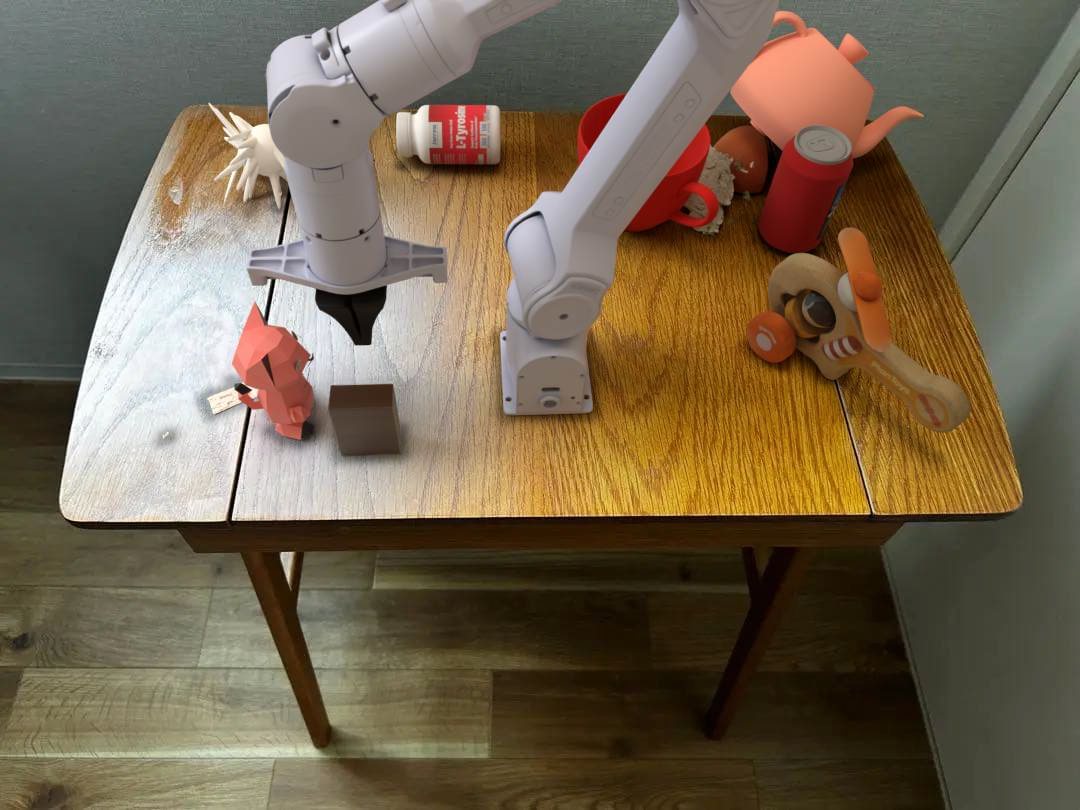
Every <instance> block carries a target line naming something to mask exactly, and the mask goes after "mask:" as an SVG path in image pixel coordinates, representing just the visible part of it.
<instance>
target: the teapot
mask: <svg viewBox="0 0 1080 810" xmlns="http://www.w3.org/2000/svg"><path fill="white" fill-rule="evenodd" d="M781 22H788V23H790V24H791V25H792V26H793V27H794V28H795V30H796V31H794V32H791V33H788V34H784V35H782V36H778V37H776V38H774V39H771V40H769V41H766V42H765V44H764V46H763V47H762V49H761V50H760V51H759V53H758V54H757V55H756V57H755V58H754V59H753V61H752V62H751V63H750V65H749V66H748V67H747V69H746V70H745V71H744V73H743V74H742V75H741V76H740V78H739V79H738V80H737V82H736V83H735V84H734V86H733V87H732V88H731V90H730V91H729V92H730V95H731V97H732V99H734V101H735V103H736V104H737V105H738V106H739V107H740V109H741V110H742V111H743V112H744V113H745V114H746V115H747V117H748V118H749V119H750V121H749V123H750V124H751V126H753V127H755V128H756V129H757V130H758V131H759V132H760V133H761V134H762V136H763V137H766V136H767V137H768V138H769V139H770V140H771V142H773V143H774V144H775V145H776V147H778V149H780V150H781V151H782V152H783V149H784V147H785V145H786V144H787V142H788V141H789V140H791V139H792V138H793V137H794V136H796V134H797V133H798V131H800V130H801V129H802V128H804V127H807V126H811V125H823V126H828V127H831V128H834V129H836V130H838V131H840V132H842V133H843V134H844V135H846V137H847V138H848V139H849V140H850V142H851V145H852V151H851V153H852V157H853V160H854V159H857V158H860V157H862V156H864V155H866V154H868V153H869V152H870V151H872V150H873V149H874V148H875V147H876V146H877V145H878V144H880V142H881V141H882V140H883V139H884V138H885V137H886V136H887V135H888V134H889V133H890V132H891V131H892V130H893V129H894V128H896V127H897V126H898V125H900V124H901V123H903V122H905V121H908V120H911V119H917V118H925V115H923V113H921V112H919V111H917V110H915V109H913V108H910V107H908V106H905V105H904V106H903V105H901V106H897V107H894V108H892V109H890V110H888V111H886V112H885V113H884V114H882V115H881V116H879V117H878V118H877V119H875V120H873V121H872V122H870V123H869V124H867V125H866V122H867V119H868V116H869V112H870V110H871V106H872V103H873V99H874V96H875V95H874V94H875V90H874V89H875V87H874V86H873V85H872V84H871V83H870V82H869V81H868V79H866V77H864V75H862V73H861V72H859V70H858V69H857V68H855V66H854V64H856V63H858V62H859V61H861V60H863V59H865V58H866V57H868V56H869V51H868V50H867V49H866V47H865V46H864V45H863V44H862V43H861V42H860V41H859V40H858V39H857V38H856V37H854V36H853V35H852V34H851V33H846V34H845V35H844V37H843V39H842V41H841V43H840V44H839V47H838V49H837V48H836V47H835V46H834V45H833V43H831V42H830V41H829V40H828V39H827V38H826V37H825V36H824V35H823V34H822V33H821V32H819V30H818V29H817V28H815V27H807V25H806V23H805V21H804V20H803V18H802V17H800V16H799V15H798V14H796V13H795V12H792V11H789V10H788V11H787V10H780V11H779V10H778V11H776V14H775V18H774V21H773V25H772V29H773V28H774V27H775V26H776V25H777V24H779V23H781Z"/></svg>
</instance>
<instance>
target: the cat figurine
mask: <svg viewBox="0 0 1080 810" xmlns="http://www.w3.org/2000/svg"><path fill="white" fill-rule="evenodd" d="M290 332H291V333H290ZM300 335H301V336H300V337H302V334H300ZM303 344H306V342H305V341H303ZM304 346H305V347H304ZM304 346H303V345H302V344H301V343H300V342H299V336H298V334H297V333H296V332H295V331H293V330H291V331H289V330H288V329H287V328H286V327H285V326H278V325H270V324H268V322H267V320H266V318H265V317H264V315H263V313H262V311H261V309H260V307H259V306H258V304H257V302H256V301H254V302H253V304H252V307H251V310H250V312H249V314H248V317H247V319H246V321H245V324H244V326H243V329H242V331H241V334H240V337H239V340H238V343H237V346H236V349H235V352H234V355H233V357H232V361H231V365H232V367H233V368H234V370H235V371H236V374H237V375H238V376H239V378H240V379H241V381H242V382H238V383H237V382H236V383H233V388H234V389H235V390H236V391H237V392H238V399H239V400H240V401H242V402H241V403H243V404H244V405H246V406H247V407H249V408H250V409H251V410H253V411H254V410H255V411H256V410H264V412H265V414H266V415H267V417H268V419H269V420H270V422H271V423H272V424H276V425H275V428H274V431H275V432H277V433H279V434H280V435H281V436H283V437H286V438H291V439H295V440H299V441H302V440H304V439H306V438H308V437H311V436H312V435H314V432H315V428H316V426H315V425H314V424H313V423H311V422H310V421H309V420H307V418H308V417H310V416H311V412H312V409H313V406H314V402H315V396H314V390H313V389H314V388H313V385H312V384H311V381H309V377H310V374H311V373H312V371H311V367H310V365H311V363H313V361H314V360H315V355H314V352H312V353H310V352H309V351H308V348H307V346H306V345H304ZM306 366H307V367H306ZM305 368H306V369H308V373H307V370H305ZM304 370H305V373H307V377H306V376H305V374H304V373H303V372H304ZM243 382H244V384H245V385H246V386H245V385H244V384H242V383H243ZM247 386H249V387H252V388H255V389H258V394H257V397H256V398H257V401H254V398H253V399H252V398H251V397H250V396H249V395H248V394H249V393H250V392H251V391H252V389H250V388H249V387H247Z"/></svg>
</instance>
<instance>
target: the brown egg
mask: <svg viewBox="0 0 1080 810" xmlns="http://www.w3.org/2000/svg"><path fill="white" fill-rule="evenodd" d="M764 137H765V136H763V135H762V134H761V133H760V132H759V131H758V130H757V129H756V128H755V127H754V126H753V125H741V126H738V127H735V128H733V129H731V130H729V131H728V132H726V133H725V134H724V135H723V136H722V137H721V138H720V139H718V140H717V141H716V142H715V144H714V145H713V147H714V148H715V149H716V151H720V152H722V154H726V155H725V156H727V154H728V156H727V157H728V158H729V159H731V157H732V158H733V161H732V162H731V164H730V168H729V169H730V172H731V173H732V174H733V175H734V176H735V178H734V179H733V180H732V181H733V185H734V186H733V187H734V192H736V193H740V194H744V193H745V192H746V191H749V194H757V193H761V191H762V190H763V188H764V185H765V182H766V178H767V174H768V169H769V168H768V167H769V166H768V165H769V158H768V148H767V143H766V140H765V138H764ZM713 150H714V149H713ZM729 156H730V157H729ZM739 157H740V158H739ZM742 157H743V159H742ZM738 158H739V159H738ZM735 159H737V160H735ZM736 161H737V162H738V161H740V162H741V163H742V164H743V165H744V164H745V165H744V169H745V171H748V173H745V172H743V171H741V170H740V169H741V168H740V166H741V165H740V166H739V169H738V170H735V166H734V165H735V163H736ZM707 162H708V161H707ZM752 162H754V164H753V165H754V166H753V168H751V167H750V165H751V163H752ZM755 169H756V170H755ZM719 178H721V173H720V176H719ZM719 178H718V180H719ZM743 192H744V193H743Z"/></svg>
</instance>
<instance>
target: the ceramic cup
mask: <svg viewBox="0 0 1080 810" xmlns="http://www.w3.org/2000/svg"><path fill="white" fill-rule="evenodd" d="M626 95H627V93H620V94H618V95H612V96H609V97H606V98H604V99H601V100H599V101H598V102H596V103H594V104H593V105H592V106H591V107H590V108H588V109H587V111H585V113H584V114H583V116H582V118H581V119H580V123H579V125H578V132H577V162H578V163H577V165H578V167H579V166H580V164H581V163H582V161H583V160H584V158H585V157H586V155H587V154H588V152H589V151H590V149H591V148H592V146H593V145H594V143H595V142H596V140H597V139H598V137H599V136H600V134H601V133H602V131H603V130H604V128H605V126H606V125H607V123H608V122H609V120H610V119H611V117H612V116H613V114H614V113H615V111H616V110H617V108H618V107H619V105H620V104H621V102H622V101H623V99H624V98H625V96H626ZM710 144H711V136H710V131H709V129H708V126H707V124H706V123H705V124H704V125H703V127H702V128H701V129H700V131H699V132H698V133H697V135H696V136H695V137H694V139H693V140H692V141H691V142H690V144H689V145H688V146H687V148H686V149H685V150H684V152H683V153H682V154H681V156H680V157H679V158H678V160H677V161H676V162H675V164H674V165H673V166H672V168H671V169H670V170H669V172H668V173H667V174H666V176H665V177H664V178H663V179H662V181H661V182H660V183H659V185H658V186H657V187H656V189H655V190H654V191H653V193H652V194H651V195H650V197H649V198H648V199H647V201H646V202H645V203H644V205H643V206H642V207H641V209H640V210H639V211H638V212H637V214H636V215H635V216H634V218H633V219H632V220H631V222H630V223H629V224H628V226H627V227H626V228H625V230H624V231H625V232H636V233H637V232H643V231H648V230H650V229H652V228H654V227H656V226H658V225H661V224H663V223H664V222H666V221H668V220H671V221H673V222H675V223H678V224H680V225H683V226H686V227H689V228H693V227H703V226H705V225H707V224H709V223H710V222H712V221H713V220H714V219H715V218H716V216H717V214H718V211H719V202H718V199H717V197H716V195H715V193H714V192H713V191H712V190H711V189H710V188H708V187H707V186H705V185H703V184H701V183H697V182H698V180H699V178H700V176H701V173H702V171H703V168H704V165H705V162H706V159H707V156H708V153H709V148H710ZM692 193H695V194H697V195H699V196H700V197H701V198H702V199H703V200H704V201H705V203H706V205H707V210H708V213H707V216H706V217H705V218H695V217H692V216H689V215H690V214H687V213H684V212H682V211H681V209H682V208H684V206H683V205H684V204H685V203H686V202H687V200H688V199H689V198H690V196H691V194H692Z"/></svg>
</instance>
